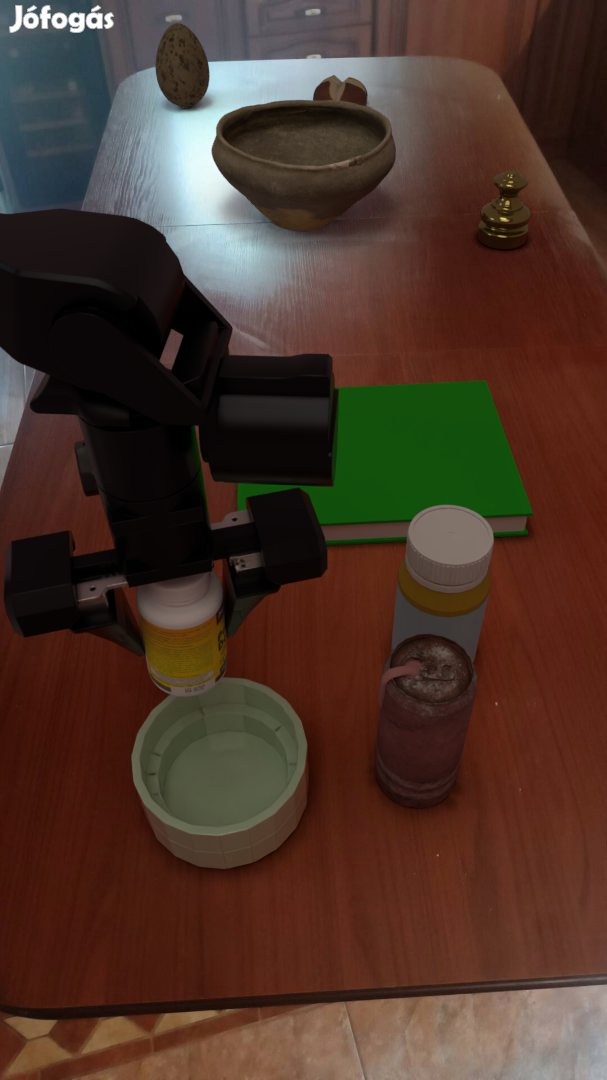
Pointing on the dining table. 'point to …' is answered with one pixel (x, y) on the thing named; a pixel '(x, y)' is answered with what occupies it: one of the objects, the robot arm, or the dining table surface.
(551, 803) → the dining table surface
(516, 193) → the brass turned ornament
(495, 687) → the dining table surface
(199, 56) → the decorative egg
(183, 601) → the supplement bottle
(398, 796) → the can
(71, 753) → the dining table surface
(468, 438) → the book
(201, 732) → the ceramic bowl
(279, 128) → the bowl
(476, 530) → the bottle
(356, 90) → the bread
